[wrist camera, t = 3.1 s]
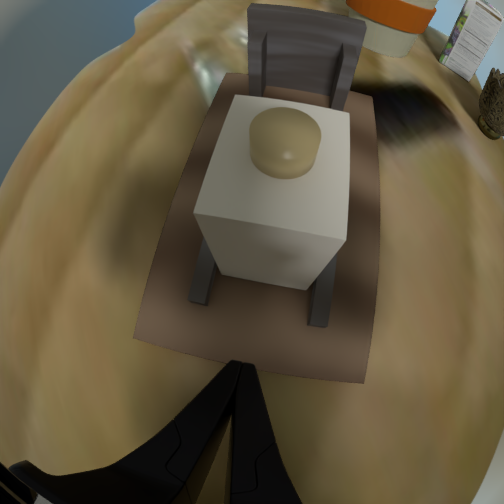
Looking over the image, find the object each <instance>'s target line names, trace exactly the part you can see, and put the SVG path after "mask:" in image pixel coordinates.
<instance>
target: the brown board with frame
mask: <svg viewBox="0 0 504 504" xmlns="http://www.w3.org/2000/svg"><path fill="white" fill-rule="evenodd" d="M247 17H248V72H249V74H239V73H226V74H225V76H224V79H223V81H222V83H221V85H220V87H219V89H218V91H217V93H216V95H215V97H214V100H213V102H212V104H211V106H210V108H209V111H208V113H207V115H206V117H205V120H204V122H203V124H202V126H201V129H200V131H199V133H198V136H197V138H196V141H195V143H194V146H193V148H192V150H191V153H190V155H189V158H188V160H187V163H186V166H185V168H184V171H183V173H182V176H181V179H180V181H179V184H178V187H177V190H176V192H175V195H174V198H173V201H172V204H171V206H170V209H169V212H168V215H167V218H166V221H165V224H164V227H163V230H162V233H161V236H160V240H159V243H158V246H157V249H156V253H155V256H154V259H153V263H152V266H151V269H150V273H149V277H148V280H147V284H146V287H145V291H144V295H143V299H142V303H141V307H140V311H139V315H138V319H137V323H136V327H135V332H134V336H133V338H135V339H138V340H141V341H144V342H147V343H151V344H154V345H157V346H160V347H164V348H167V349H171V350H174V351H178V352H182V353H185V354H189V355H193V356H197V357H201V358H205V359H209V360H213V361H218V362H222V363H228V362H229V361H230V360H232V359H233V360H238V361H242V363H243V362H248V363H253V364H254V365H255V367H256V370H261V371H267V372H272V373H278V374H285V375H291V376H298V377H305V378H312V379H321V380H329V381H339V382H349V383H362V384H364V380H365V375H366V369H367V364H368V358H369V352H370V345H371V338H372V331H373V323H374V315H375V305H376V295H377V283H378V269H379V249H380V180H379V160H378V146H377V135H376V125H375V116H374V108H373V100H372V97H371V96H367V95H363V94H360V93H356V92H352V91H349V90H350V86H351V83H352V80H353V76H354V73H355V69H356V66H357V62H358V59H359V55H360V52H361V48H362V44H363V41H364V37H365V33H366V29H367V26H366V23H365V21H363V20H359V19H355V18H351V17H347V16H343V15H338V14H334V13H329V12H323V11H318V10H312V9H306V8H299V7H291V6H282V5H271V4H255V3H251V4H250V6H249V7H248V9H247ZM235 95H245V96H255V97H263V98H271V99H278V100H285V101H292V102H298V103H303V104H309V105H314V106H319V107H324V108H329V109H334V110H338V111H342V112H347V113H349V116H350V179H349V204H348V222H347V236H346V241H345V242H344V244H343V245H342V246H341V248H340V249H339V250H338V251H337V253H336V254H335V255H334V257H333V258H332V259H331V260H330V262H329V263H328V264H327V265H326V267H325V268H324V269H323V270H322V272H321V273H320V274H319V275H318V276H317V278H316V279H315V280H314V281H313V283H312V284H311V285H310V286H309V287H308V289H307V290H301V289H295V288H290V287H284V286H279V285H273V284H268V283H262V282H257V281H252V280H247V279H242V278H236V277H231V276H226V275H222V274H221V272H220V270H219V268H218V266H217V264H216V262H215V259H214V257H213V255H212V253H211V251H210V249H209V247H208V244H207V242H206V240H205V238H204V236H203V234H202V231H201V229H200V227H199V225H198V222H197V220H196V218H195V216H194V214H193V212H194V209H195V205H196V202H197V199H198V196H199V193H200V190H201V187H202V184H203V181H204V178H205V175H206V172H207V169H208V166H209V163H210V160H211V157H212V155H213V152H214V149H215V146H216V143H217V141H218V138H219V135H220V132H221V130H222V127H223V124H224V122H225V119H226V117H227V114H228V111H229V109H230V106H231V104H232V101H233V99H234V96H235Z"/></svg>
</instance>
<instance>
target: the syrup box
mask: <svg viewBox="0 0 504 504" xmlns="http://www.w3.org/2000/svg"><path fill="white" fill-rule="evenodd" d="M503 21H504V17H503V16H502V15H501V13H500V12H499V11H498V10H496V9H495V8H494V7H493V6H492V5H490V4H489V3H488V2H486V1H485V0H466V2H465V4H464V6H463V8H462V10H461V12H460V15H459V17H458V19H457V21H456V23H455V25H454V27H453V30H452V32H451V34H450V36H449V39H448V41H447V43H446V45H445V47H444V49H443V51H442V54H441V56H440V60H439V62H440V63H442V64H443V65H445V66H446V67H448V68H449V69H451V70H452V71H454V72H455V73H457V74H458V75H460V76H461V77H463V78H464V79H466V80H467V81H470V80H471V78H472V76H473V75H474V73H475V72H476V70H477V68H478V66H479V65H480V63H481V61H482V60H483V58H484V56H485V54H486V52H487V51H488V49H489V47H490V46H491V44H492V42H493V40H494V38H495V36H496V34H497V33H498V30H499V29H500V27H501V25H502V23H503Z"/></svg>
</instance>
